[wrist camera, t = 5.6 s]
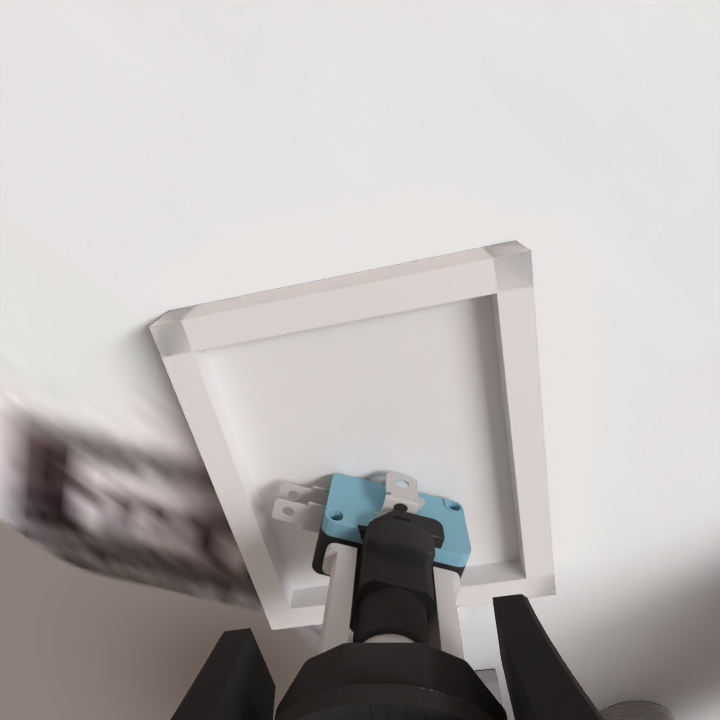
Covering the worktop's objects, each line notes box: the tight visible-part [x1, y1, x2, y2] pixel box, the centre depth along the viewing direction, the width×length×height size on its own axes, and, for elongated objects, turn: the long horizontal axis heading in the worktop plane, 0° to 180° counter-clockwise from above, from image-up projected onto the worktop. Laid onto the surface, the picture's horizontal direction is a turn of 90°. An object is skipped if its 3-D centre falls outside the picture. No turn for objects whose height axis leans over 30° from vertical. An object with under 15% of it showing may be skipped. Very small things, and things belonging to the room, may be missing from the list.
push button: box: [272, 472, 507, 720], centre depth 13 cm, size 7×5×10 cm
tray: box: [149, 241, 556, 630], centre depth 17 cm, size 11×13×2 cm
